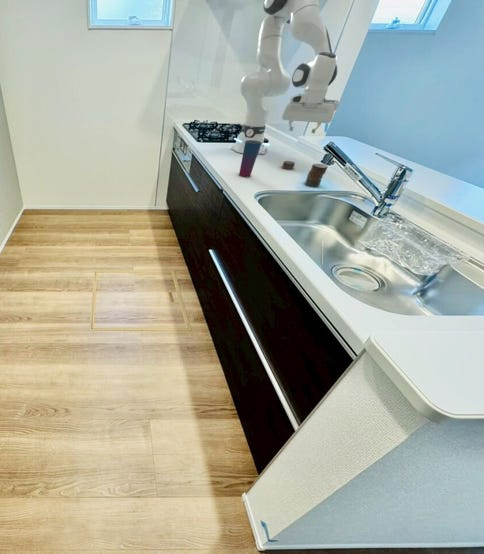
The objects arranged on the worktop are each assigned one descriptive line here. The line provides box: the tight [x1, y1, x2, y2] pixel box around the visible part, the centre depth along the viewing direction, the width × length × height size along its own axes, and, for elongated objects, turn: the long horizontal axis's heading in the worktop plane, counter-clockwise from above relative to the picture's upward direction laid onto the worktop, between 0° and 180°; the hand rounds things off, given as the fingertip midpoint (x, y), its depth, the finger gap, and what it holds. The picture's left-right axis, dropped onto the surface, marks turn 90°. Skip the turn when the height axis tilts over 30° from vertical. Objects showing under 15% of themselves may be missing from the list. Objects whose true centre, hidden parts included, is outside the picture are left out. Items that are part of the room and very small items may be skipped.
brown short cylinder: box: [281, 160, 296, 170], centre depth 150 cm, size 5×5×3 cm
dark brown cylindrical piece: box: [304, 163, 329, 188], centre depth 129 cm, size 6×6×8 cm
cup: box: [238, 140, 262, 178], centre depth 137 cm, size 7×7×15 cm
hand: (301, 132), depth 140 cm, fingers open, 8 cm apart
